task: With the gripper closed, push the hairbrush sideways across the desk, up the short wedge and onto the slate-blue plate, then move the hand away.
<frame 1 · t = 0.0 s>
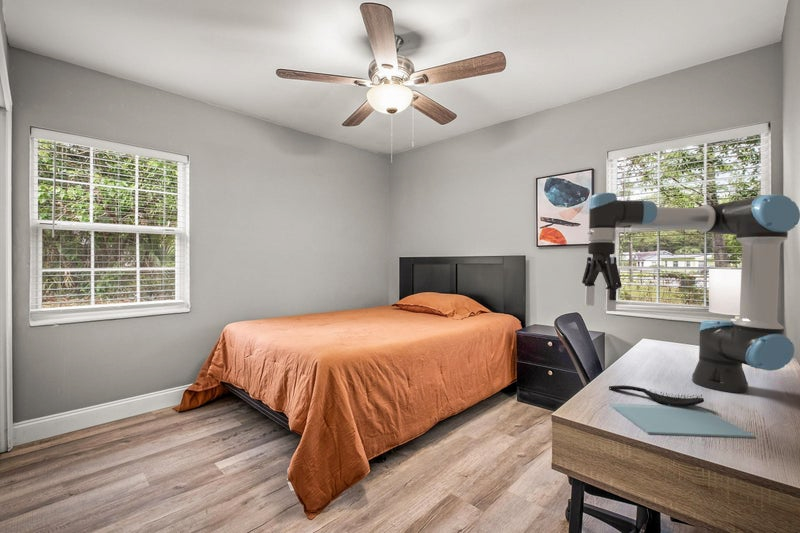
hand: (599, 308, 120), 28 cm above the table, tool pointing down, fingers open, 13 cm apart
hairbrush: (652, 399, 117), on the table, touching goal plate
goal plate: (678, 421, 101), on the table
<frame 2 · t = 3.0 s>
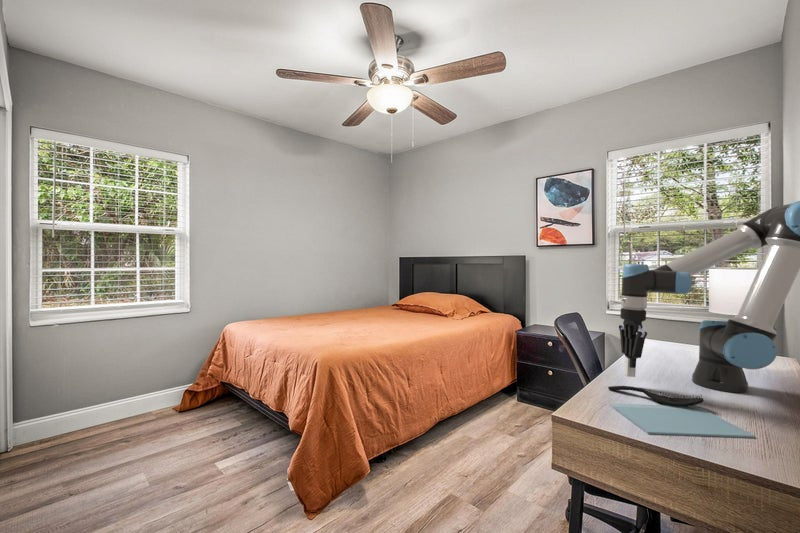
hand: (629, 375, 130), 4 cm above the table, tool pointing down, fingers closed
nothing on the table moved.
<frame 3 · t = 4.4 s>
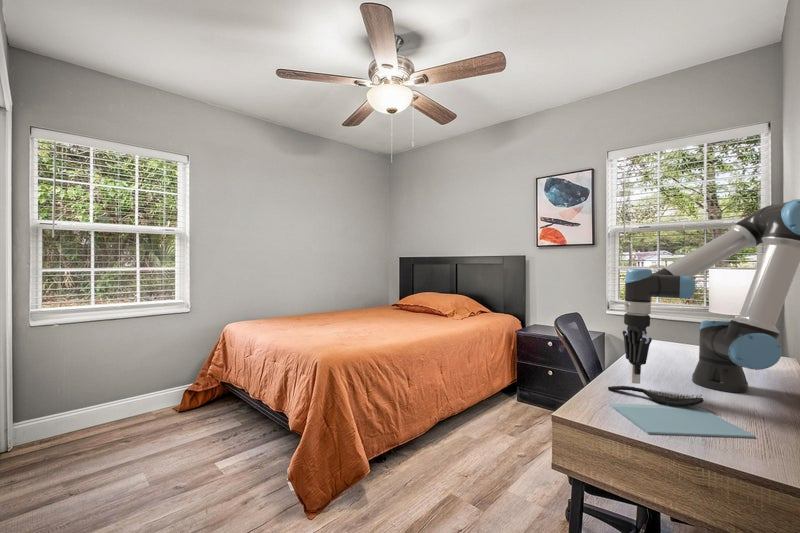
hand: (634, 382, 127), 2 cm above the table, tool pointing down, fingers closed
nothing on the table moved.
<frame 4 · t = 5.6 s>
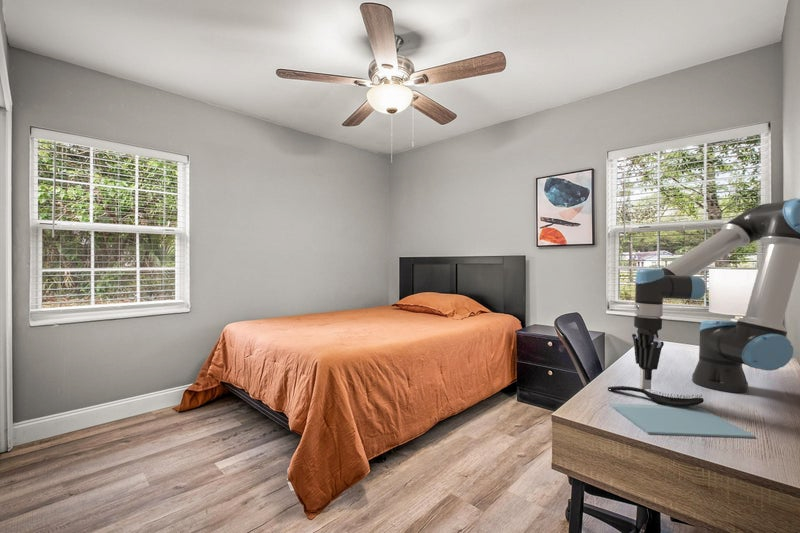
hand: (645, 388, 121), 2 cm above the table, tool pointing down, fingers closed
hairbrush: (652, 399, 117), on the table, touching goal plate, gripper
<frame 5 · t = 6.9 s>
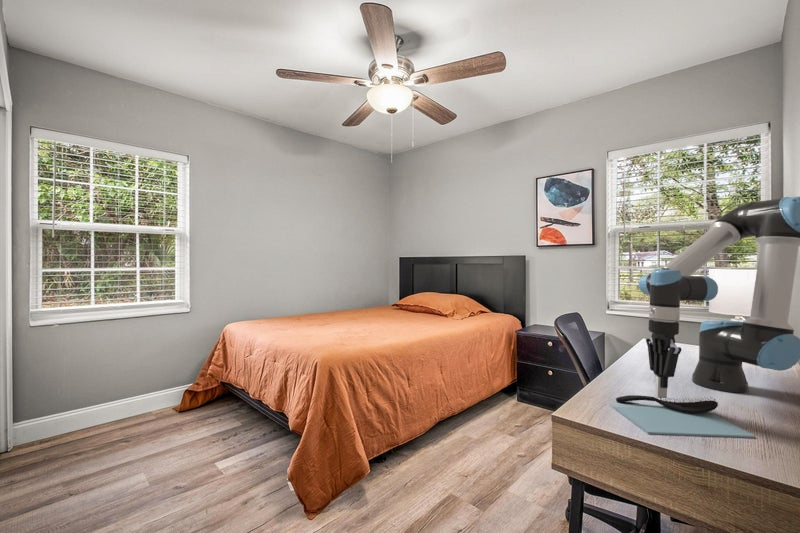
hand: (660, 397, 114), 2 cm above the table, tool pointing down, fingers closed
hairbrush: (664, 407, 110), on the table, touching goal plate, gripper
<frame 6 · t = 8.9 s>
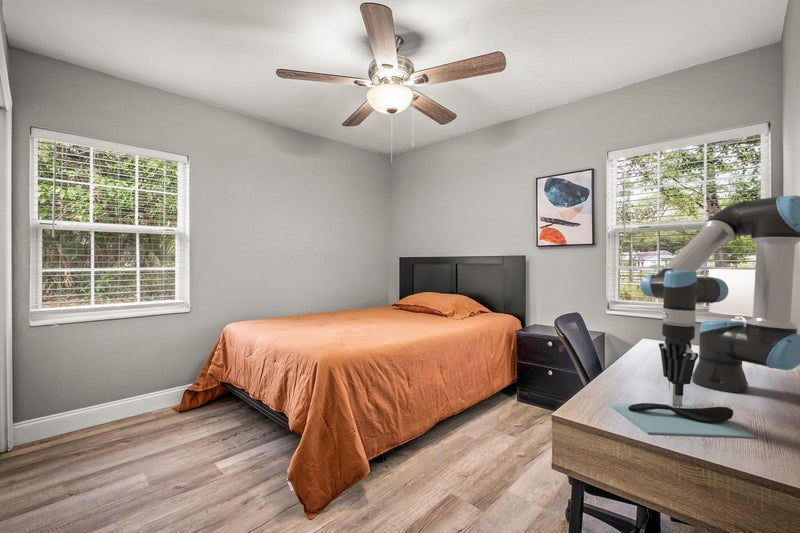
hand: (675, 405, 107), 2 cm above the table, tool pointing down, fingers closed
hairbrush: (678, 415, 104), resting on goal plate
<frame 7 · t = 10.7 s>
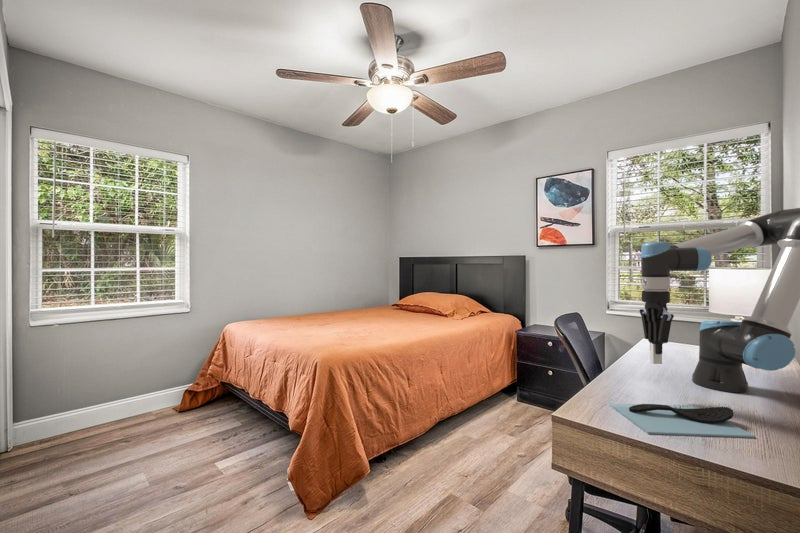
hand: (656, 363, 120), 11 cm above the table, tool pointing down, fingers closed
nothing on the table moved.
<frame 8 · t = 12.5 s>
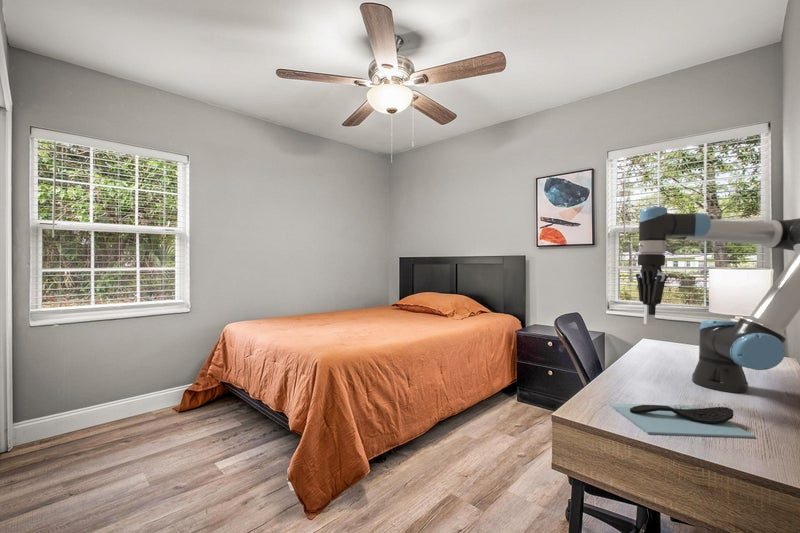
hand: (649, 324, 125), 22 cm above the table, tool pointing down, fingers closed
nothing on the table moved.
at the end: hairbrush inside the target area on the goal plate (3.3 cm from its centre), point 0.3 cm above the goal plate's base; hairbrush touching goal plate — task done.
